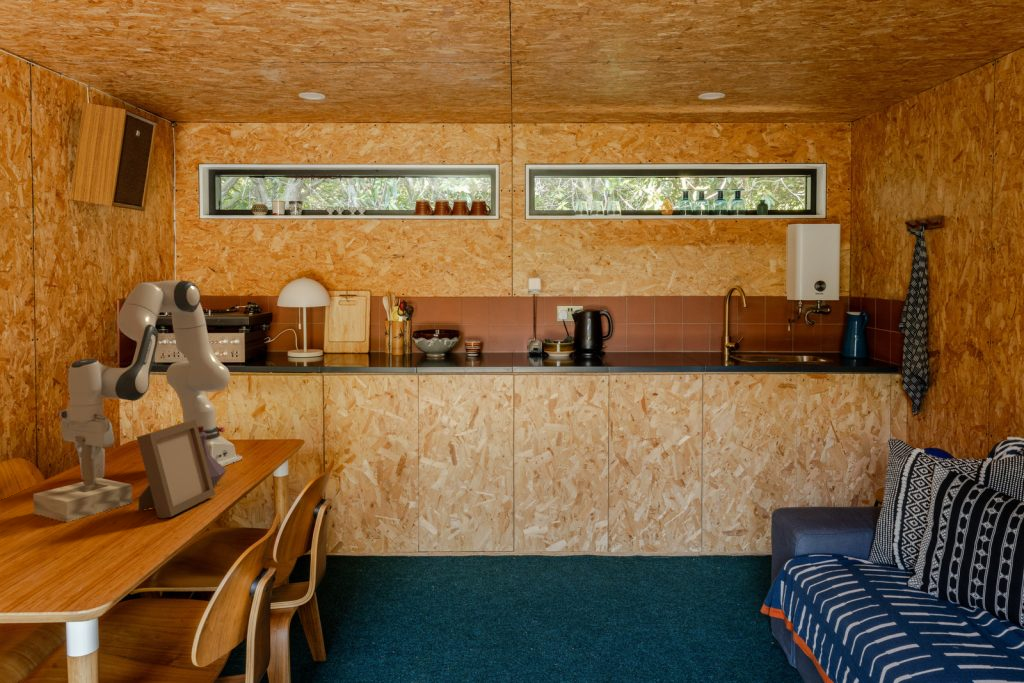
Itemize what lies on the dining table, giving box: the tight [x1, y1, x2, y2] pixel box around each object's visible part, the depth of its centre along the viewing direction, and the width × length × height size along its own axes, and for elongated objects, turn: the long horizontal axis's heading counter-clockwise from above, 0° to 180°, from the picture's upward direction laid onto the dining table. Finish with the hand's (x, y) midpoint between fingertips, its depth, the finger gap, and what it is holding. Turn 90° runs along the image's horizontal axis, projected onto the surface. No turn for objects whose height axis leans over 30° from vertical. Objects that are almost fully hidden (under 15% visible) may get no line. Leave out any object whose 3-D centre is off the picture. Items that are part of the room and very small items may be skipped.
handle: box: [75, 436, 97, 486], centre depth 219 cm, size 5×6×15 cm
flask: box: [198, 426, 228, 487], centre depth 244 cm, size 16×16×20 cm
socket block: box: [32, 478, 133, 523], centre depth 219 cm, size 20×16×6 cm
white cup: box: [79, 447, 106, 480], centre depth 252 cm, size 8×8×10 cm
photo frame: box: [136, 420, 216, 519], centre depth 220 cm, size 15×22×25 cm
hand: (88, 458), depth 219 cm, fingers closed on handle, 5 cm apart
